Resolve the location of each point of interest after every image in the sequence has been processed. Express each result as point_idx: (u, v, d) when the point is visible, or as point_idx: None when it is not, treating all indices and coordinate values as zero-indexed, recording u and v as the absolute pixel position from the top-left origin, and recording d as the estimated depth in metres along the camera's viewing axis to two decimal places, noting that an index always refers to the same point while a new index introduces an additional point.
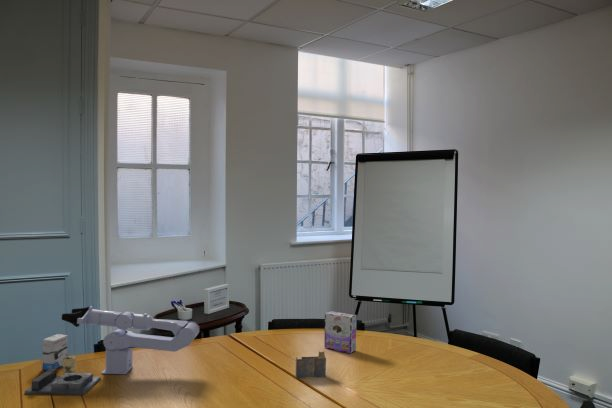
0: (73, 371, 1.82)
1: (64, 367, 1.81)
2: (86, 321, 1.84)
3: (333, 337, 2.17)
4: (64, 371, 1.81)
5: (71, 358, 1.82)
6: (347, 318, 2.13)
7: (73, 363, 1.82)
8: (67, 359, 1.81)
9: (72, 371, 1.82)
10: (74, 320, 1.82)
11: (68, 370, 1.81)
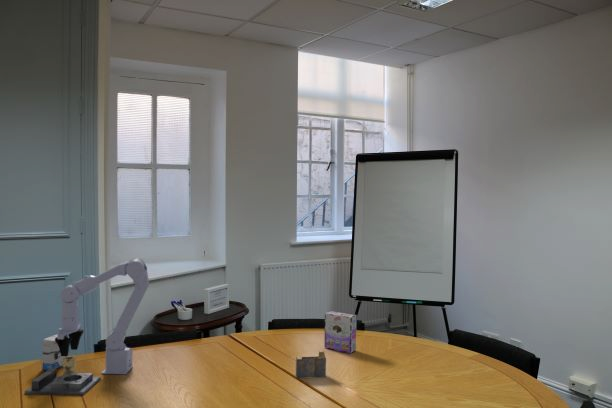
0: (73, 371, 1.82)
1: (64, 367, 1.81)
2: (69, 331, 1.80)
3: (333, 337, 2.17)
4: (64, 371, 1.81)
5: (71, 358, 1.82)
6: (347, 318, 2.13)
7: (73, 363, 1.82)
8: (67, 359, 1.81)
9: (72, 371, 1.82)
10: None
11: (68, 370, 1.81)
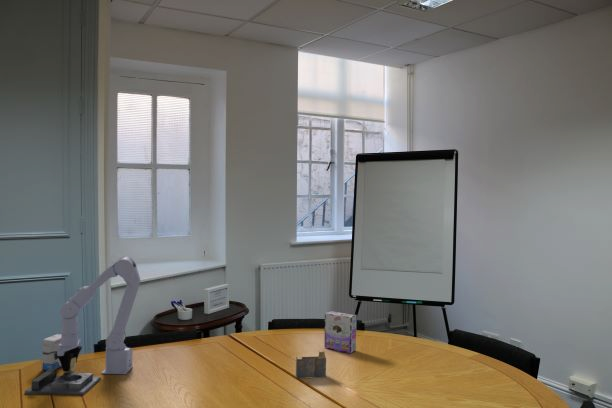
0: (73, 371, 1.82)
1: None
2: (69, 347, 1.80)
3: (333, 337, 2.17)
4: (64, 371, 1.81)
5: None
6: (347, 318, 2.13)
7: (73, 363, 1.82)
8: None
9: (72, 371, 1.82)
10: None
11: None
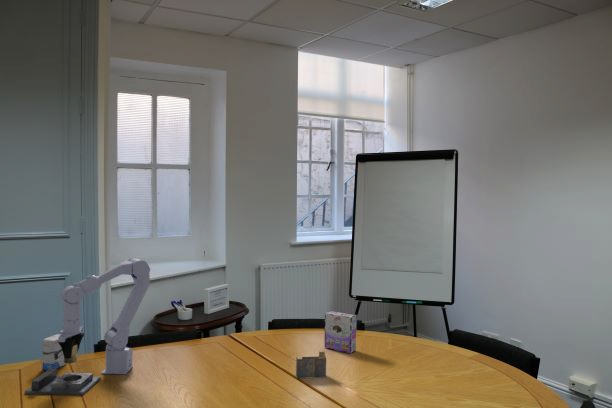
0: (74, 359, 1.76)
1: None
2: (70, 334, 1.74)
3: (333, 337, 2.17)
4: (65, 358, 1.75)
5: None
6: (347, 318, 2.13)
7: (74, 350, 1.76)
8: None
9: (73, 358, 1.75)
10: None
11: None
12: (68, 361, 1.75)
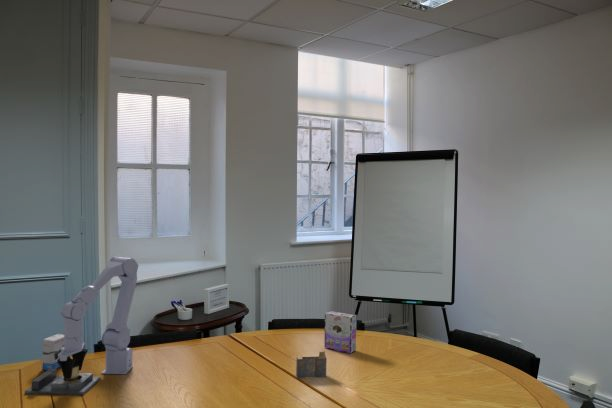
0: None
1: None
2: (72, 351, 1.68)
3: (333, 337, 2.17)
4: None
5: (73, 367, 1.70)
6: (347, 318, 2.13)
7: (75, 372, 1.70)
8: None
9: None
10: None
11: (70, 380, 1.69)
12: None
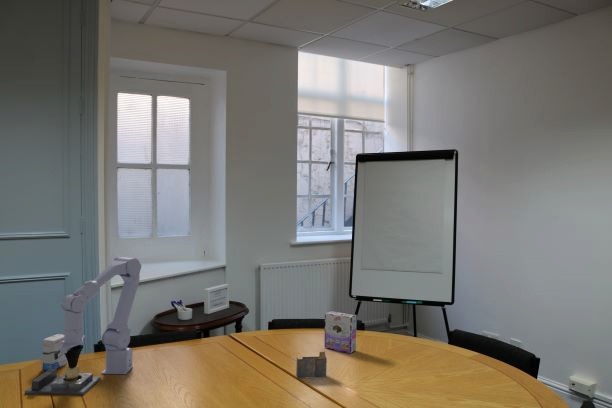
0: None
1: (66, 377, 1.69)
2: (72, 344, 1.68)
3: (333, 337, 2.17)
4: None
5: None
6: (347, 318, 2.13)
7: (75, 372, 1.70)
8: (69, 368, 1.69)
9: None
10: None
11: (70, 380, 1.69)
12: None
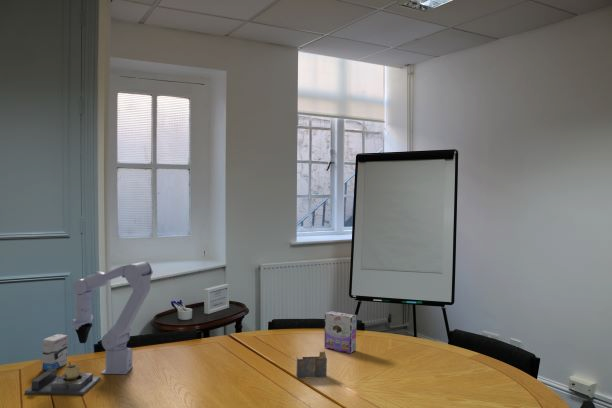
0: None
1: (66, 377, 1.69)
2: (83, 322, 1.87)
3: (333, 337, 2.17)
4: None
5: (73, 367, 1.70)
6: (347, 318, 2.13)
7: (75, 372, 1.70)
8: (69, 368, 1.69)
9: None
10: None
11: (70, 380, 1.69)
12: None
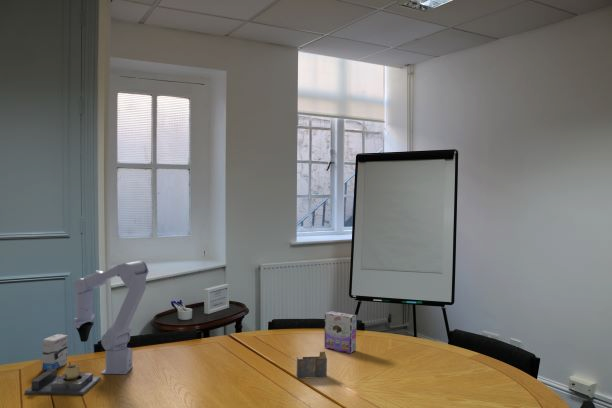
0: None
1: (66, 377, 1.69)
2: (84, 320, 1.90)
3: (333, 337, 2.17)
4: None
5: (73, 367, 1.70)
6: (347, 318, 2.13)
7: (75, 372, 1.70)
8: (69, 368, 1.69)
9: None
10: None
11: (70, 380, 1.69)
12: None
